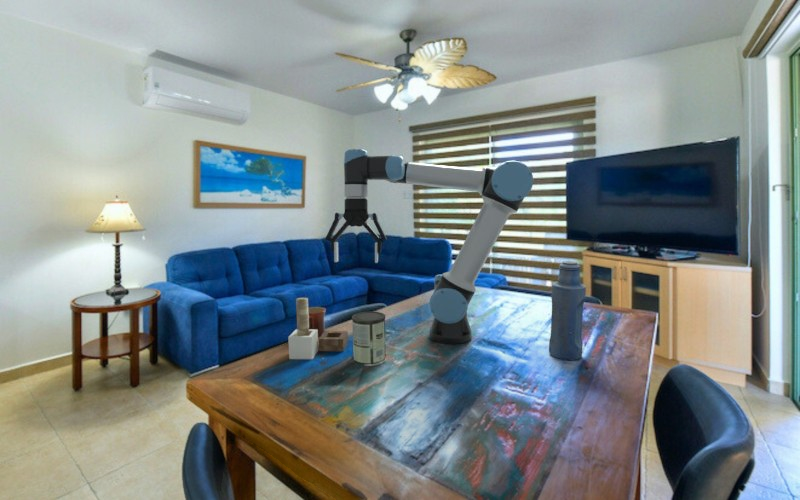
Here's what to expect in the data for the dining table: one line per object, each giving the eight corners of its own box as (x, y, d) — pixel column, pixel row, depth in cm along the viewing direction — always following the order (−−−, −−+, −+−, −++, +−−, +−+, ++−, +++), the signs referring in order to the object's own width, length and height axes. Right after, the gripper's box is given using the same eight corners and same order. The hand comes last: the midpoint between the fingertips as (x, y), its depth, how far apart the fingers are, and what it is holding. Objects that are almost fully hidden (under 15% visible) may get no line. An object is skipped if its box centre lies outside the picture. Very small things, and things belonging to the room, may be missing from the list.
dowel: (311, 352, 121) (309, 297, 119) (308, 356, 118) (306, 300, 116) (300, 352, 121) (298, 297, 119) (296, 356, 118) (294, 300, 116)
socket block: (348, 345, 130) (347, 331, 129) (343, 354, 122) (343, 339, 121) (325, 344, 130) (324, 330, 130) (319, 353, 122) (318, 339, 122)
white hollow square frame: (318, 353, 123) (317, 329, 122) (312, 362, 116) (311, 337, 115) (296, 352, 123) (295, 329, 122) (289, 362, 116) (288, 337, 115)
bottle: (556, 346, 127) (559, 258, 123) (587, 354, 120) (591, 261, 116) (543, 355, 120) (547, 261, 116) (575, 363, 113) (580, 265, 109)
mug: (308, 332, 143) (307, 306, 142) (330, 334, 142) (329, 307, 140) (293, 344, 132) (292, 315, 130) (317, 345, 130) (316, 316, 129)
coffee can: (361, 351, 124) (360, 310, 122) (390, 355, 121) (390, 312, 119) (347, 364, 114) (345, 319, 113) (378, 368, 111) (377, 322, 109)
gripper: (394, 198, 127) (394, 260, 129) (321, 198, 128) (322, 259, 131) (392, 198, 119) (392, 264, 122) (315, 197, 121) (316, 262, 123)
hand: (356, 262), depth 126 cm, fingers open, 13 cm apart
